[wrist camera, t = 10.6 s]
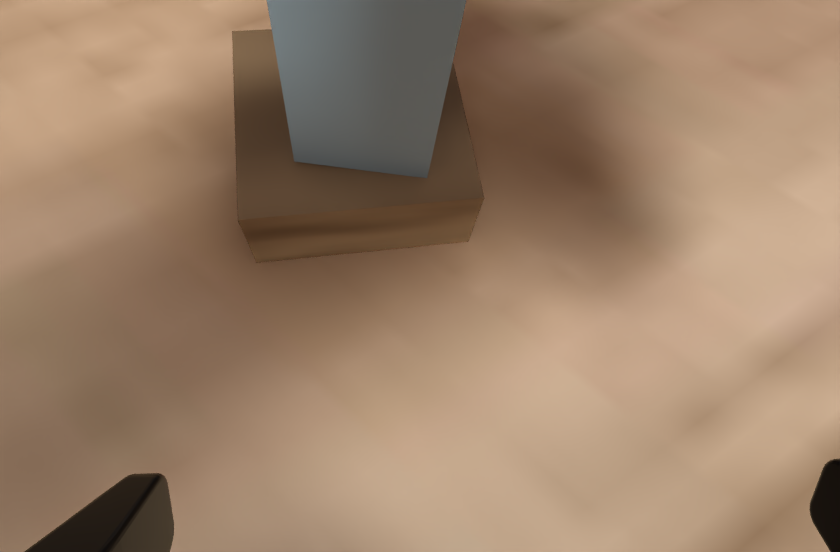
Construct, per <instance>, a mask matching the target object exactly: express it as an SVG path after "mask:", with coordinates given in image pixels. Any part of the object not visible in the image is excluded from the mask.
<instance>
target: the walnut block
mask: <svg viewBox="0 0 840 552" xmlns="http://www.w3.org/2000/svg"><path fill="white" fill-rule="evenodd" d="M232 40H233V73H234V107H235V141H236V174H237V208H238V221H239V224H240V226H241V228H242V230H243V233H244V235H245V237H246V239H247V242H248V244H249V246H250V248H251V251H252V253H253V255H254V257H255V260H256V262H257V263H260V262H269V261H279V260H289V259H299V258H309V257H319V256H329V255H339V254H349V253H359V252H369V251H379V250H389V249H399V248H409V247H419V246H429V245H439V244H449V243H458V242H468V241H469V238H470V235H471V233H472V230H473V227H474V224H475V222H476V219H477V216H478V213H479V211H480V208H481V205H482V203H483V200H484V195H483V190H482V186H481V182H480V177H479V173H478V169H477V164H476V160H475V156H474V151H473V147H472V142H471V138H470V134H469V129H468V125H467V121H466V116H465V112H464V108H463V103H462V99H461V95H460V90H459V86H458V82H457V77H456V73H455V69H454V64H453V63H452V67H451V72H450V77H449V81H448V86H447V90H446V95H445V99H444V104H443V108H442V113H441V118H440V122H439V127H438V131H437V136H436V140H435V145H434V149H433V154H432V158H431V163H430V168H429V172H428V177H427V178H421V177H412V176H404V175H396V174H388V173H381V172H373V171H365V170H357V169H349V168H341V167H334V166H326V165H318V164H310V163H302V162H295V161H294V157H293V151H292V145H291V139H290V133H289V127H288V122H287V116H286V110H285V104H284V98H283V92H282V86H281V81H280V75H279V69H278V63H277V57H276V51H275V45H274V40H273V34H272V30H250V31H232Z"/></svg>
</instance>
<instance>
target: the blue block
mask: <svg viewBox="0 0 840 552" xmlns="http://www.w3.org/2000/svg"><path fill="white" fill-rule="evenodd" d="M267 4H268V10H269V16H270V22H271V28H272V34H273V40H274V45H275V51H276V57H277V63H278V69H279V75H280V81H281V86H282V92H283V98H284V104H285V110H286V116H287V122H288V127H289V133H290V139H291V145H292V151H293V157H294V161H295V162H302V163H310V164H318V165H326V166H334V167H341V168H349V169H357V170H365V171H373V172H381V173H388V174H396V175H404V176H412V177H421V178H427V177H428V172H429V168H430V163H431V158H432V154H433V149H434V145H435V140H436V136H437V131H438V127H439V122H440V118H441V113H442V108H443V104H444V99H445V95H446V90H447V86H448V81H449V77H450V72H451V67H452V63H453V58H454V54H455V49H456V45H457V40H458V36H459V31H460V27H461V22H462V17H463V13H464V8H465V4H466V0H267Z"/></svg>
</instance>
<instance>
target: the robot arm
mask: <svg viewBox="0 0 840 552" xmlns="http://www.w3.org/2000/svg"><path fill="white" fill-rule="evenodd" d="M810 515H811V518H812V521H813V523H814V525H815V527H816V528H817V530H818V532H819V533H820V535H821V537H822V538H823V540H824V542H825V543H826V545H827V547H828V548H829V550H830V552H840V459H833V460H830V461H829V462H827V463H826V464H825V466H824V468H823V470H822V473H821V475H820V478H819V481H818V483H817V486H816V488H815V491H814V494H813V496H812V499H811V502H810ZM173 535H174V520H173V514H172V508H171V501H170V495H169V489H168V483H167V480H166V478H165V476H163V475H162V474H159V473H151V474H132V475H129V476H127V477H125V478H124V479H122V480H121V481H119V482H118V483H117V484H115V485H114V486H113V487H111V488H110V489H109V490H107V491H106V492H105V493H103V494H102V495H101V496H99V497H98V498H96V499H95V500H94V501H92V502H91V503H90V504H88V505H87V506H86V507H84V508H83V509H82V510H80V511H79V512H78V513H76V514H75V515H73V516H72V517H71V518H69V519H68V520H67V521H65V522H64V523H63V524H61V525H60V526H59V527H57V528H56V529H55V530H53V531H52V532H50V533H49V534H48V535H46V536H45V537H44V538H42V539H41V540H40V541H38V542H37V543H36V544H34V545H33V546H31V547H30V548H29V549H27V550H26V551H25V552H170V549H171V545H172V541H173Z"/></svg>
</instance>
